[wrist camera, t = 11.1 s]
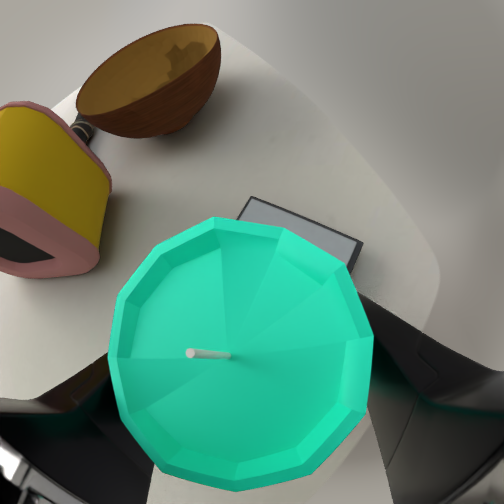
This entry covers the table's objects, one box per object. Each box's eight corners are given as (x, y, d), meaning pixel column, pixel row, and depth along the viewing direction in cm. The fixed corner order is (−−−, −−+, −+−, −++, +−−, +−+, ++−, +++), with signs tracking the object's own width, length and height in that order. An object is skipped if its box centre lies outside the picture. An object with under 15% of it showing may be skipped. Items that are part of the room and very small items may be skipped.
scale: (358, 253, 23) (365, 239, 20) (305, 364, 21) (305, 365, 18) (256, 209, 26) (249, 191, 23) (199, 305, 24) (184, 298, 21)
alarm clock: (22, 283, 29) (-87, 228, 12) (38, 212, 33) (-51, 143, 16) (119, 275, 27) (-43, 174, 9) (133, 183, 31) (28, 62, 13)
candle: (304, 425, 13) (287, 569, 2) (207, 381, 15) (28, 395, 4) (349, 327, 15) (447, 239, 4) (251, 288, 17) (143, 150, 6)
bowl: (125, 197, 30) (73, 144, 21) (110, 119, 37) (78, 76, 28) (263, 123, 30) (245, 50, 21) (211, 65, 37) (191, 14, 28)
